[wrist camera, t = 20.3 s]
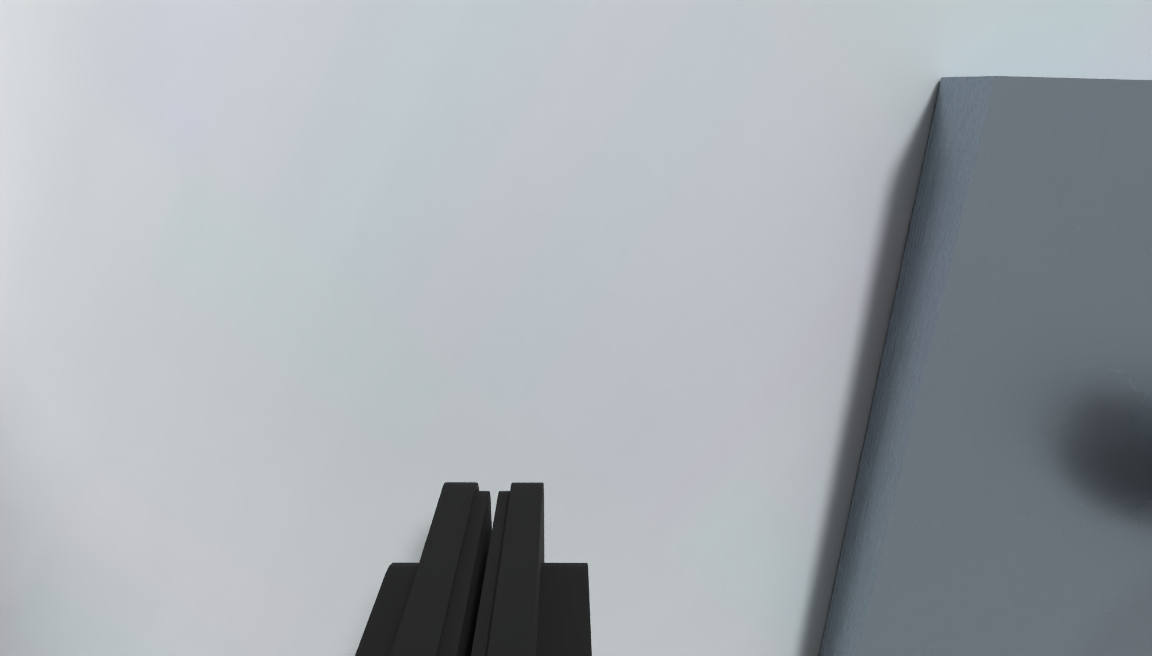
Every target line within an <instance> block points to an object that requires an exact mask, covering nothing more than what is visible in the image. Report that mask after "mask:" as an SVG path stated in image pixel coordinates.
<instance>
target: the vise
mask: <svg viewBox="0 0 1152 656" xmlns="http://www.w3.org/2000/svg"><path fill="white" fill-rule="evenodd" d="M819 656H1152V80H1116V79H1080V78H1044V77H1008V76H983V77H948V78H941V82H940V86H939V91H938V96H937V100H936V105H935V110H934V115H933V119H932V124H931V129H930V134H929V138H928V143H927V148H926V153H925V157H924V162H923V167H922V172H921V176H920V181H919V186H918V190H917V195H916V200H915V205H914V209H913V214H912V219H911V224H910V228H909V233H908V238H907V243H906V247H905V252H904V257H903V262H902V266H901V271H900V276H899V281H898V285H897V290H896V295H895V299H894V304H893V309H892V314H891V318H890V323H889V328H888V333H887V337H886V342H885V347H884V352H883V356H882V361H881V366H880V371H879V375H878V380H877V385H876V389H875V394H874V399H873V404H872V408H871V413H870V418H869V423H868V427H867V432H866V437H865V442H864V446H863V451H862V456H861V461H860V465H859V470H858V475H857V479H856V484H855V489H854V494H853V498H852V503H851V508H850V513H849V517H848V522H847V527H846V532H845V536H844V541H843V546H842V551H841V555H840V560H839V565H838V570H837V574H836V579H835V584H834V588H833V593H832V598H831V603H830V607H829V612H828V617H827V622H826V626H825V631H824V636H823V641H822V645H821V650H820V655H819Z"/></svg>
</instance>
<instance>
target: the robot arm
mask: <svg viewBox="0 0 1152 656" xmlns="http://www.w3.org/2000/svg"><path fill="white" fill-rule="evenodd" d="M355 656H592V651H591V627H590V604H589V580H588V564H587V563H544V484H543V483H512V484H511V490H510V491H499V493H498V499H497V505H496V511H495V516H494V522H493V528H492V522H491V499H490V492H489V491H479V487H478V483H473V482H446V483H444V485H443V488H442V491H441V494H440V498H439V501H438V504H437V507H436V511H435V514H434V517H433V520H432V524H431V527H430V530H429V533H428V536H427V540H426V543H425V546H424V549H423V553H422V556H421V559H420V562H419V563H392V564H391V565H390V566H389V568H388V570H387V572H386V574H385V577H384V579H383V582H382V585H381V588H380V590H379V593H378V596H377V598H376V601H375V604H374V606H373V609H372V612H371V614H370V617H369V620H368V622H367V625H366V628H365V631H364V633H363V636H362V639H361V641H360V644H359V647H358V649H357V652H356V655H355Z"/></svg>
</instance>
